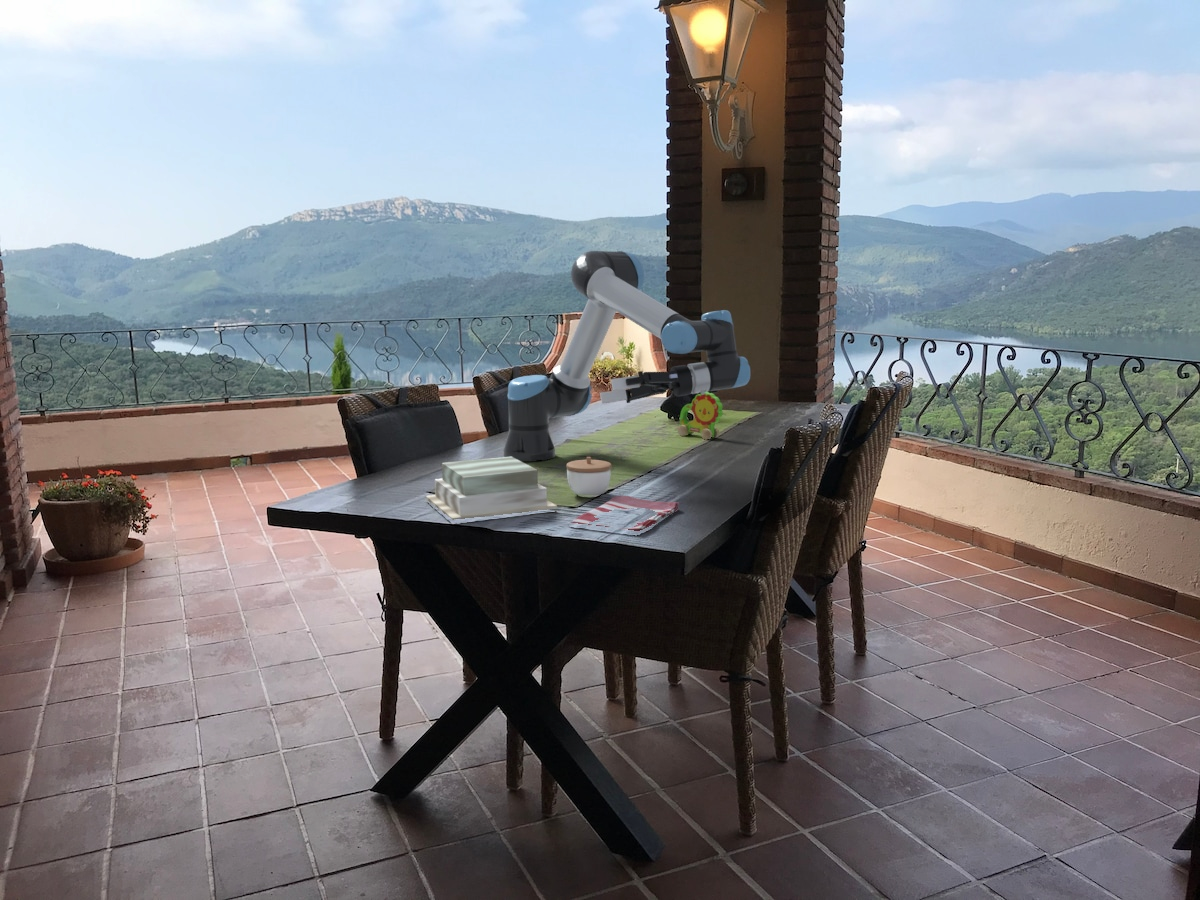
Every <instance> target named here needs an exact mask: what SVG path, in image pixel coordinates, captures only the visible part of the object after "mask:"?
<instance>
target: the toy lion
mask: <svg viewBox="0 0 1200 900" xmlns="http://www.w3.org/2000/svg"><path fill="white" fill-rule="evenodd" d="M689 411H692V413H693V415H694V417H693V418H694V419H692V420H690V421H688V412H689ZM723 413H724V412H723V403H722V402H721V400H720V398H719V396H716V395H715V393H712V392H711V393H710V391H709V392H705V394H704V395H701V393H697V394H695V396H694V398H693V399H692V401H691V403H687V404H685V405H684V406H683V407H682V409H681V411H680V416H679V425H678V427H677V428H676V429H677V433H678V435H679V436H681V437H685V436H688V434H690V435H693V434H694V432H695V433H698V434H700V437H701V438H702V439H703V440H704V439H709V440H711V439H716V438H718V436H719V433H720V431H719V429H718V428H717V426H715V424H718V423H719V422H720V419H721V418H722V417H723ZM711 437H712V438H711Z"/></svg>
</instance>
